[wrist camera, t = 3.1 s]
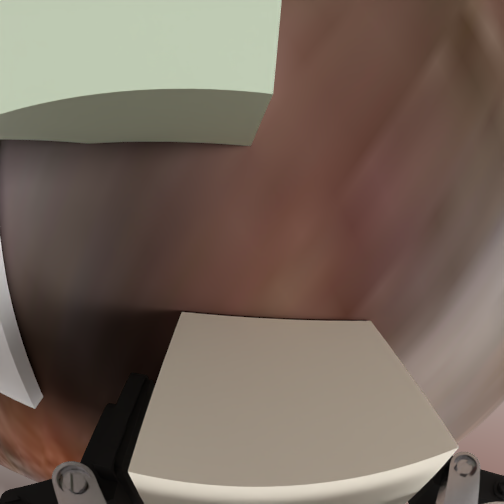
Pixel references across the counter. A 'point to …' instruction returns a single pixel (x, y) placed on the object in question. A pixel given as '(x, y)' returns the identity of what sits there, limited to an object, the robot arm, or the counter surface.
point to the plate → (14, 353)
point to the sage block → (136, 69)
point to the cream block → (285, 417)
